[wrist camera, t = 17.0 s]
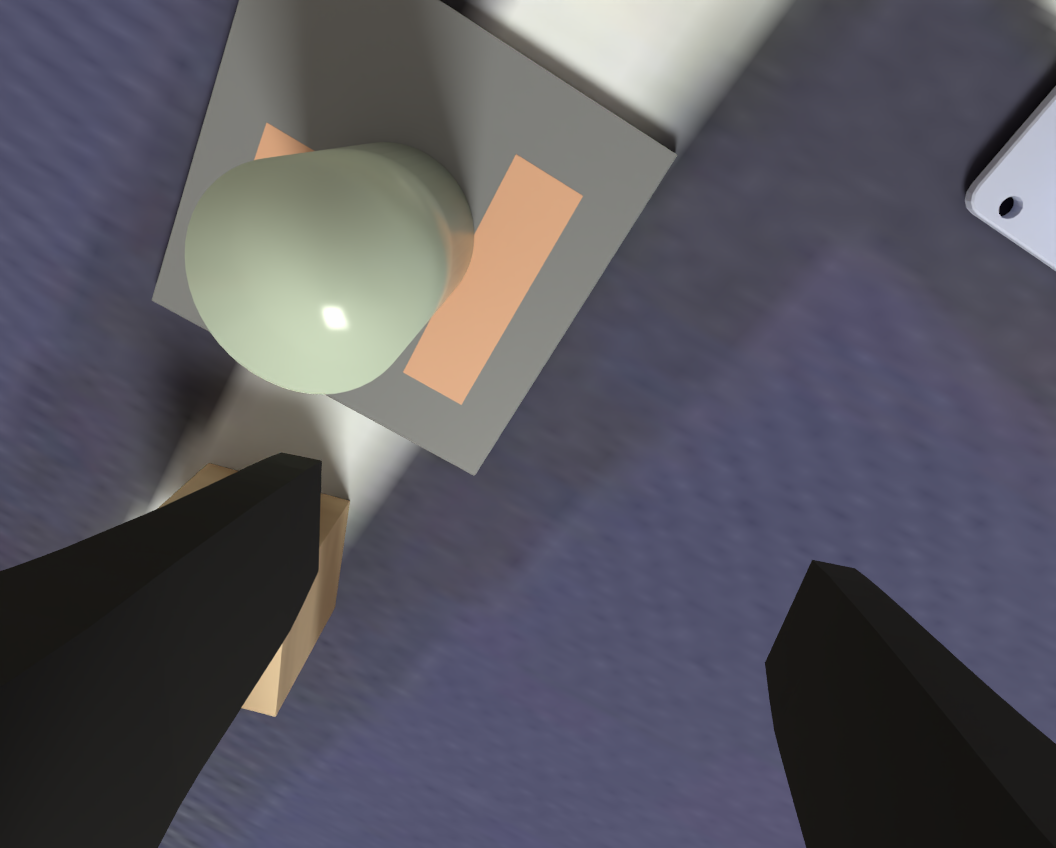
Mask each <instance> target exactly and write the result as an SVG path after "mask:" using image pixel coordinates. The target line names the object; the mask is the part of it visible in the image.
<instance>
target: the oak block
mask: <svg viewBox="0 0 1056 848" xmlns="http://www.w3.org/2000/svg"><path fill="white" fill-rule="evenodd" d="M236 472H238V471H237V470H233V469H229V468H225V467H222V466H218V465H214V464H210V463H208V464H207V465H206V466H205V467H204V468H203V469H201V470H200V471H199V472H198V473H197V474H196V475H195V476H194V477H193V478H191V479H190V480H189V481H188V482H187V483H186V484H185V485H184V486H182V487H181V488H180V489H179V490H178V491H177V492H176V493H175V494H173V495H172V496H171V497H170V498H169V499H168V500H167V501H166V502H164V503H163V504H162V505H161V506H160V507H163V506H165V505H167V504H169V503H171V502H173V501H176V500H178V499H180V498H182V497H184V496H186V495H189V494H191V493H193V492H195V491H197V490H199V489H202V488H204V487H206V486H208V485H210V484H212V483H214V482H216V481H219V480H221V479H223V478H225V477H227V476H229V475H231V474H233V473H236ZM349 504H350V501H349V500H345V499H341V498H338V497H334V496H330V495H326V494H323V493H321V503H320V541H319V571H318V574H317V576H316V578H315V580H314V582H313V584H312V587H311V589H310V591H309V593H308V595H307V598H306V600H305V602H304V604H303V606H302V608H301V610H300V612H299V614H298V616H297V618H296V620H295V622H294V624H293V626H292V628H291V630H290V632H289V634H288V635H287V637H286V639H285V640H284V642H283V643H282V645H281V647H280V648H279V650H278V651H277V653H276V654H275V656H274V658H273V659H272V661H271V662H270V664H269V665H268V667H267V669H266V670H265V672H264V673H263V675H262V676H261V678H260V680H259V681H258V683H257V684H256V686H255V687H254V689H253V690H252V692H251V694H250V695H249V697H248V698H247V700H246V701H245V703H244V704H243V706H242V707H241V708H244V709H248V710H252V711H256V712H259V713H263V714H267V715H271V716H275V717H276V715H277V713H278V711H279V709H280V708H281V706H282V704H283V702H284V700H285V698H286V697H287V695H288V693H289V691H290V689H291V687H292V685H293V684H294V682H295V680H296V678H297V676H298V674H299V673H300V671H301V669H302V667H303V665H304V663H305V662H306V660H307V658H308V656H309V654H310V652H311V651H312V649H313V647H314V645H315V643H316V641H317V639H318V638H319V636H320V634H321V632H322V630H323V628H324V627H325V625H326V623H327V621H328V619H329V617H330V616H331V614H332V612H333V610H334V608H335V602H336V595H337V588H338V581H339V574H340V567H341V560H342V553H343V546H344V539H345V532H346V525H347V518H348V511H349ZM160 507H159V508H160Z"/></svg>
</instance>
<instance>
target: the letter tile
mask: <svg viewBox="0 0 1056 848" xmlns="http://www.w3.org/2000/svg"><path fill="white" fill-rule="evenodd" d="M376 142H394V143H400V144H404V145H408V146H411V147H414V148H416V149H418V150H420V151H422V152H424V153H426V154H428V155H429V156H431V157H432V158H434V159H435V160H437V161H438V162H439V163H440V164H441V165H442V166H444V167H445V168H446V170H447V171H448V172H449V173H450V174H451V175H452V176H453V177H454V179H455V180H456V182H457V183H458V184H459V186H460V188H461V190H462V191H463V193H464V195H465V197H466V200H467V202H468V205H469V207H470V211H471V215H472V218H473V225H474V247H473V254H472V258H471V262H470V265H469V267H468V270H467V272H466V274H465V276H464V277H463V279H462V281H461V282H460V283H459V285H458V286H457V287H456V289H455V290H454V291H453V292H452V293H451V295H450V296H449V297H448V298H447V299H446V301H445V302H444V303H443V304H442V305H441V307H440V308H439V309H438V310H437V311H436V313H435V314H434V315H433V316H432V317H431V319H430V320H429V321H428V322H427V323H426V325H425V326H424V327H423V328H422V329H421V330H420V332H419V333H418V334H417V335H416V336H415V338H414V339H413V340H412V341H411V342H410V344H409V345H408V346H407V347H406V348H405V350H404V351H403V352H402V353H401V354H400V356H399V357H398V358H397V359H396V360H395V362H394V363H393V364H392V365H391V366H390V367H389V368H388V369H387V370H386V371H385V372H384V373H383V374H381V375H380V376H378V377H377V378H376V379H374V380H373V381H371V382H369V383H367V384H365V385H363V386H361V387H359V388H356V389H353V390H350V391H346V392H341V393H336V394H325V395H327V396H329V397H330V398H332V399H334V400H336V401H338V402H340V403H341V404H343V405H345V406H347V407H349V408H351V409H352V410H354V411H356V412H358V413H360V414H362V415H364V416H365V417H367V418H369V419H371V420H373V421H375V422H376V423H378V424H380V425H382V426H384V427H386V428H387V429H389V430H391V431H393V432H395V433H397V434H398V435H400V436H402V437H404V438H406V439H408V440H409V441H411V442H413V443H415V444H417V445H419V446H420V447H422V448H424V449H426V450H428V451H430V452H432V453H433V454H435V455H437V456H439V457H441V458H443V459H444V460H446V461H448V462H450V463H452V464H454V465H455V466H457V467H459V468H461V469H463V470H465V471H466V472H468V473H470V474H472V475H474V476H475V474H476V473H477V471H478V469H479V468H480V466H481V465H482V463H483V462H484V460H485V458H486V457H487V455H488V454H489V452H490V451H491V449H492V447H493V446H494V444H495V443H496V441H497V439H498V438H499V436H500V435H501V433H502V432H503V430H504V428H505V427H506V425H507V424H508V422H509V420H510V419H511V417H512V416H513V414H514V413H515V411H516V409H517V408H518V406H519V405H520V403H521V401H522V400H523V398H524V397H525V395H526V394H527V392H528V390H529V389H530V387H531V386H532V384H533V382H534V381H535V379H536V378H537V376H538V375H539V373H540V371H541V370H542V368H543V367H544V365H545V364H546V362H547V360H548V359H549V357H550V356H551V354H552V352H553V351H554V349H555V348H556V346H557V345H558V343H559V341H560V340H561V338H562V337H563V335H564V333H565V332H566V330H567V329H568V327H569V326H570V324H571V322H572V321H573V319H574V318H575V316H576V314H577V313H578V311H579V310H580V308H581V307H582V305H583V303H584V302H585V300H586V299H587V297H588V295H589V294H590V292H591V291H592V289H593V288H594V286H595V284H596V283H597V281H598V280H599V278H600V277H601V275H602V273H603V272H604V270H605V269H606V267H607V265H608V264H609V262H610V261H611V259H612V258H613V256H614V254H615V253H616V251H617V250H618V248H619V246H620V245H621V243H622V242H623V240H624V239H625V237H626V235H627V234H628V232H629V231H630V229H631V227H632V226H633V224H634V223H635V221H636V220H637V218H638V216H639V215H640V213H641V212H642V210H643V208H644V207H645V205H646V204H647V202H648V201H649V199H650V197H651V196H652V194H653V193H654V191H655V190H656V188H657V186H658V185H659V183H660V182H661V180H662V178H663V177H664V175H665V174H666V172H667V171H668V169H669V167H670V166H671V164H672V163H673V161H674V159H675V158H676V156H677V154H675V153H674V152H672V151H670V150H669V149H667V148H666V147H664V146H663V145H661V144H660V143H658V142H657V141H655V140H654V139H652V138H650V137H649V136H647V135H646V134H644V133H643V132H641V131H640V130H638V129H637V128H635V127H634V126H632V125H630V124H629V123H627V122H626V121H624V120H623V119H621V118H620V117H618V116H617V115H615V114H614V113H612V112H610V111H609V110H607V109H606V108H604V107H603V106H601V105H600V104H598V103H597V102H595V101H594V100H592V99H591V98H589V97H587V96H586V95H584V94H583V93H581V92H580V91H578V90H577V89H575V88H574V87H572V86H571V85H569V84H567V83H566V82H564V81H563V80H561V79H560V78H558V77H557V76H555V75H554V74H552V73H551V72H549V71H547V70H546V69H544V68H543V67H541V66H540V65H538V64H537V63H535V62H534V61H532V60H531V59H529V58H527V57H526V56H524V55H523V54H521V53H520V52H518V51H517V50H515V49H514V48H512V47H511V46H509V45H508V44H506V43H504V42H503V41H501V40H500V39H498V38H497V37H495V36H494V35H492V34H491V33H489V32H488V31H486V30H484V29H483V28H481V27H480V26H478V25H477V24H475V23H474V22H472V21H471V20H469V19H468V18H466V17H464V16H463V15H461V14H460V13H458V12H457V11H455V10H454V9H452V8H451V7H449V6H448V5H446V4H445V3H443V2H441V1H440V0H239V3H238V6H237V10H236V13H235V17H234V20H233V23H232V27H231V30H230V34H229V37H228V41H227V44H226V47H225V51H224V54H223V58H222V61H221V65H220V68H219V71H218V75H217V78H216V82H215V85H214V89H213V92H212V95H211V99H210V102H209V106H208V109H207V113H206V116H205V119H204V123H203V126H202V130H201V133H200V137H199V140H198V143H197V147H196V150H195V154H194V157H193V161H192V164H191V167H190V171H189V174H188V178H187V181H186V185H185V188H184V191H183V195H182V198H181V202H180V205H179V209H178V212H177V215H176V219H175V222H174V226H173V229H172V233H171V236H170V239H169V243H168V246H167V250H166V253H165V257H164V260H163V263H162V267H161V270H160V274H159V277H158V281H157V284H156V288H155V291H154V294H153V298H152V301H154V302H156V303H158V304H160V305H161V306H163V307H165V308H167V309H169V310H171V311H172V312H174V313H176V314H178V315H180V316H182V317H183V318H185V319H187V320H189V321H191V322H193V323H194V324H196V325H198V326H200V327H202V328H204V329H205V330H207V331H209V330H208V328H207V326H206V325H205V323H204V321H203V320H202V318H201V316H200V314H199V312H198V310H197V307H196V305H195V303H194V301H193V298H192V294H191V291H190V288H189V284H188V280H187V275H186V268H185V240H186V235H187V229H188V225H189V222H190V219H191V216H192V213H193V211H194V209H195V207H196V205H197V203H198V201H199V200H200V198H201V197H202V195H203V194H204V193H205V191H206V190H207V189H208V188H209V187H210V186H211V185H212V184H213V183H214V182H215V181H216V180H217V179H218V178H219V177H220V176H222V175H223V174H225V173H226V172H228V171H229V170H231V169H233V168H235V167H237V166H239V165H241V164H244V163H247V162H250V161H254V160H257V159H263V158H270V157H277V156H284V155H291V154H298V153H305V152H312V151H319V150H326V149H333V148H340V147H347V146H354V145H361V144H368V143H376ZM209 332H210V331H209Z"/></svg>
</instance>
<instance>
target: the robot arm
mask: <svg viewBox="0 0 1056 848" xmlns="http://www.w3.org/2000/svg"><path fill="white" fill-rule="evenodd" d="M1008 197H1012V198H1013V200H1014V205H1013V207H1012V209H1011V211H1010V212H1009V213H1007V214H1006V215H1004V216H1000V214H999V207H1000V205H1001V203H1002V202H1003V201H1004V200H1005V199H1007V198H1008ZM965 203H966V208H967V209H968V210H969V211H970V212H971V213H972V214H973V215H975V216H976V217H978V218H979V219H980V220H982V221H983V222H985V223H986V224H988V225H989V226H991V227H992V228H994V229H995V230H996V231H998V232H999V233H1001V234H1002V235H1004V236H1005V237H1007V238H1008V239H1010V240H1011V241H1012V242H1014V243H1015V244H1017V245H1018V246H1020V247H1021V248H1023V249H1024V250H1026V251H1027V252H1029V253H1030V254H1031V255H1033V256H1034V257H1036V258H1037V259H1039V260H1040V261H1042V262H1043V263H1045V264H1046V265H1047V266H1049V267H1050V268H1052V269H1053V270H1055V271H1056V86H1055V87H1054V88H1053V89H1052V91H1051V92H1050V93H1049V94H1048V95H1047V96H1046V98H1045V99H1044V100H1043V101H1042V102H1041V103H1040V105H1039V106H1038V107H1037V108H1036V109H1035V110H1034V112H1033V113H1032V114H1031V115H1030V116H1029V117H1028V119H1027V120H1026V121H1025V122H1024V123H1023V124H1022V126H1021V127H1020V128H1019V129H1018V130H1017V131H1016V133H1015V134H1014V135H1013V136H1012V137H1011V138H1010V140H1009V141H1008V142H1007V143H1006V144H1005V145H1004V147H1003V148H1002V149H1001V150H1000V151H999V152H998V154H997V155H996V156H995V157H994V158H993V159H992V161H991V162H990V163H989V164H988V165H987V166H986V168H985V169H984V170H983V171H982V172H981V173H980V175H979V176H978V177H977V178H976V179H975V180H974V182H973V183H972V184H971V186H970V187H969V189H968V190H967V192H966V197H965ZM321 466H322V461H320V460H315V459H310V458H305V457H300V456H295V455H290V454H285V453H279V454H276V455H274V456H271V457H269V458H266V459H264V460H262V461H259V462H257V463H255V464H253V465H251V466H248V467H246V468H244V469H242V470H240V471H238V472H236V473H233V474H231V475H229V476H227V477H225V478H223V479H221V480H219V481H216V482H214V483H212V484H210V485H208V486H206V487H204V488H202V489H199V490H197V491H195V492H193V493H191V494H189V495H186V496H184V497H182V498H180V499H178V500H176V501H173V502H171V503H169V504H167V505H165V506H163V507H160V508H158V509H156V510H154V511H152V512H149V513H147V514H145V515H142V516H140V517H138V518H135V519H133V520H130V521H128V522H126V523H123V524H121V525H118V526H116V527H114V528H111V529H109V530H106V531H104V532H102V533H99V534H97V535H94V536H92V537H90V538H87V539H85V540H82V541H80V542H78V543H75V544H73V545H70V546H68V547H66V548H63V549H60V550H58V551H55V552H53V553H50V554H47V555H45V556H42V557H39V558H36V559H34V560H31V561H28V562H25V563H23V564H20V565H17V566H15V567H12V568H9V569H6V570H3V571H0V848H158V846H159V844H160V843H161V841H162V839H163V837H164V835H165V833H166V831H167V829H168V827H169V825H170V823H171V822H172V820H173V818H174V816H175V814H176V812H177V810H178V808H179V806H180V805H181V803H182V801H183V800H184V798H185V796H186V795H187V793H188V791H189V790H190V788H191V786H192V784H193V783H194V781H195V779H196V778H197V776H198V774H199V773H200V771H201V769H202V768H203V766H204V765H205V763H206V762H207V760H208V759H209V757H210V756H211V754H212V752H213V751H214V749H215V748H216V746H217V745H218V743H219V742H220V740H221V738H222V737H223V735H224V734H225V732H226V731H227V729H228V728H229V726H230V725H231V723H232V721H233V720H234V718H235V717H236V715H237V714H238V712H239V711H240V709H241V707H242V706H243V704H244V703H245V701H246V700H247V698H248V697H249V695H250V694H251V692H252V690H253V689H254V687H255V686H256V684H257V683H258V681H259V680H260V678H261V676H262V675H263V673H264V672H265V670H266V669H267V667H268V665H269V664H270V662H271V661H272V659H273V658H274V656H275V654H276V653H277V651H278V650H279V648H280V647H281V645H282V643H283V642H284V640H285V639H286V637H287V635H288V634H289V632H290V630H291V628H292V626H293V624H294V622H295V620H296V618H297V616H298V614H299V612H300V610H301V608H302V606H303V604H304V602H305V600H306V598H307V595H308V593H309V591H310V589H311V587H312V584H313V582H314V580H315V578H316V576H317V574H318V571H319V541H320V503H321ZM765 667H766V675H767V683H768V691H769V699H770V706H771V712H772V719H773V725H774V731H775V735H776V739H777V743H778V747H779V751H780V754H781V758H782V762H783V765H784V769H785V773H786V777H787V780H788V784H789V788H790V791H791V795H792V798H793V802H794V805H795V809H796V813H797V816H798V820H799V823H800V827H801V830H802V834H803V837H804V841H805V845H806V848H1056V744H1055V743H1054V742H1053V741H1052V740H1050V739H1049V738H1048V737H1047V736H1046V735H1044V734H1043V733H1042V732H1041V731H1040V730H1038V729H1037V728H1036V727H1035V726H1034V725H1032V724H1031V723H1030V722H1029V721H1028V720H1026V719H1025V718H1024V717H1023V716H1022V715H1021V714H1019V713H1018V712H1017V711H1016V710H1015V709H1014V708H1013V707H1011V706H1010V705H1009V704H1008V703H1007V702H1006V701H1004V700H1003V699H1002V698H1001V697H1000V696H999V695H998V694H996V693H995V692H994V691H993V690H992V689H991V688H990V687H989V686H987V685H986V684H985V683H984V682H983V681H982V680H981V679H980V678H978V677H977V676H976V675H975V674H974V673H973V672H972V671H971V670H970V669H968V668H967V667H966V666H965V665H964V664H963V663H962V662H961V661H960V660H958V659H957V658H956V657H955V656H954V655H953V654H952V653H951V652H950V651H949V650H947V649H946V648H945V647H944V646H943V645H942V644H941V643H940V642H939V641H938V640H936V639H935V638H934V637H933V636H932V635H931V634H930V633H929V632H928V631H927V630H926V629H924V628H923V627H922V626H921V625H920V624H919V623H918V622H917V621H916V620H915V619H913V618H912V617H911V616H910V615H909V614H908V613H907V612H906V611H905V610H904V609H902V608H901V607H900V606H899V605H898V604H897V603H896V602H895V601H893V600H892V599H891V598H890V597H889V596H888V595H887V594H886V593H884V592H883V591H882V590H881V589H880V588H879V587H877V586H876V585H875V584H874V583H873V582H872V581H870V580H869V579H868V578H867V577H865V576H864V575H863V574H861V573H860V572H859V571H858V570H856V569H855V568H850V567H845V566H840V565H835V564H830V563H825V562H820V561H815V560H812V562H811V564H810V566H809V568H808V571H807V573H806V575H805V577H804V579H803V581H802V584H801V586H800V588H799V590H798V592H797V594H796V597H795V599H794V601H793V603H792V605H791V607H790V610H789V612H788V614H787V616H786V618H785V621H784V623H783V625H782V627H781V629H780V631H779V634H778V636H777V638H776V640H775V642H774V644H773V647H772V649H771V651H770V653H769V655H768V657H767V660H766V662H765Z"/></svg>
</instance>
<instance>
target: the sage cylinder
mask: <svg viewBox="0 0 1056 848" xmlns="http://www.w3.org/2000/svg"><path fill="white" fill-rule="evenodd" d="M473 247H474V225H473V218H472V215H471V211H470V207H469V205H468V202H467V200H466V197H465V195H464V193H463V191H462V190H461V188H460V186H459V184H458V183H457V182H456V180H455V179H454V177H453V176H452V175H451V174H450V173H449V172H448V171H447V170H446V168H445V167H444V166H442V165H441V164H440V163H439V162H438V161H437V160H435V159H434V158H432V157H431V156H429V155H428V154H426V153H424V152H422V151H420V150H418V149H416V148H414V147H411V146H408V145H404V144H400V143H394V142H376V143H368V144H361V145H354V146H347V147H340V148H333V149H326V150H319V151H312V152H305V153H298V154H291V155H284V156H277V157H270V158H263V159H257V160H254V161H250V162H247V163H244V164H241V165H239V166H237V167H235V168H233V169H231V170H229V171H228V172H226V173H225V174H223V175H222V176H220V177H219V178H218V179H217V180H216V181H215V182H214V183H213V184H212V185H211V186H210V187H209V188H208V189H207V190H206V191H205V193H204V194H203V195H202V197H201V198H200V200H199V201H198V203H197V205H196V207H195V209H194V211H193V213H192V216H191V219H190V222H189V225H188V229H187V235H186V240H185V268H186V275H187V280H188V284H189V288H190V291H191V294H192V298H193V301H194V303H195V305H196V307H197V310H198V312H199V314H200V316H201V318H202V320H203V321H204V323H205V325H206V326H207V328H208V330H209V331H210V332H211V334H212V335H213V336H214V338H215V339H216V340H217V342H218V343H219V344H220V345H221V346H222V347H223V348H224V349H225V351H226V352H227V353H228V354H229V355H230V356H231V357H233V358H234V359H235V360H236V361H237V362H238V363H239V364H241V365H242V366H243V367H245V368H246V369H248V370H249V371H250V372H252V373H253V374H255V375H257V376H258V377H260V378H262V379H264V380H265V381H268V382H270V383H272V384H274V385H277V386H279V387H282V388H285V389H289V390H292V391H296V392H301V393H307V394H321V395H322V394H336V393H341V392H346V391H350V390H353V389H356V388H359V387H361V386H363V385H365V384H367V383H369V382H371V381H373V380H374V379H376V378H377V377H378V376H380V375H381V374H383V373H384V372H385V371H386V370H387V369H388V368H389V367H390V366H391V365H392V364H393V363H394V362H395V360H396V359H397V358H398V357H399V356H400V354H401V353H402V352H403V351H404V350H405V348H406V347H407V346H408V345H409V344H410V342H411V341H412V340H413V339H414V338H415V336H416V335H417V334H418V333H419V332H420V330H421V329H422V328H423V327H424V326H425V325H426V323H427V322H428V321H429V320H430V319H431V317H432V316H433V315H434V314H435V313H436V311H437V310H438V309H439V308H440V307H441V305H442V304H443V303H444V302H445V301H446V299H447V298H448V297H449V296H450V295H451V293H452V292H453V291H454V290H455V289H456V287H457V286H458V285H459V283H460V282H461V281H462V279H463V277H464V276H465V274H466V272H467V270H468V267H469V265H470V262H471V258H472V254H473Z"/></svg>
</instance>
